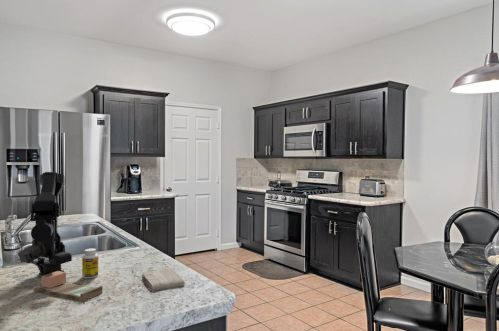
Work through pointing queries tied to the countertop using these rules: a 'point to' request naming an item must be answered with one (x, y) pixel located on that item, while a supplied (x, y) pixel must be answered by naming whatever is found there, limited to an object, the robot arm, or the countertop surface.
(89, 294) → the switch base
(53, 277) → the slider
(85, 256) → the supplement bottle
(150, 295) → the countertop surface
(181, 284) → the washcloth
